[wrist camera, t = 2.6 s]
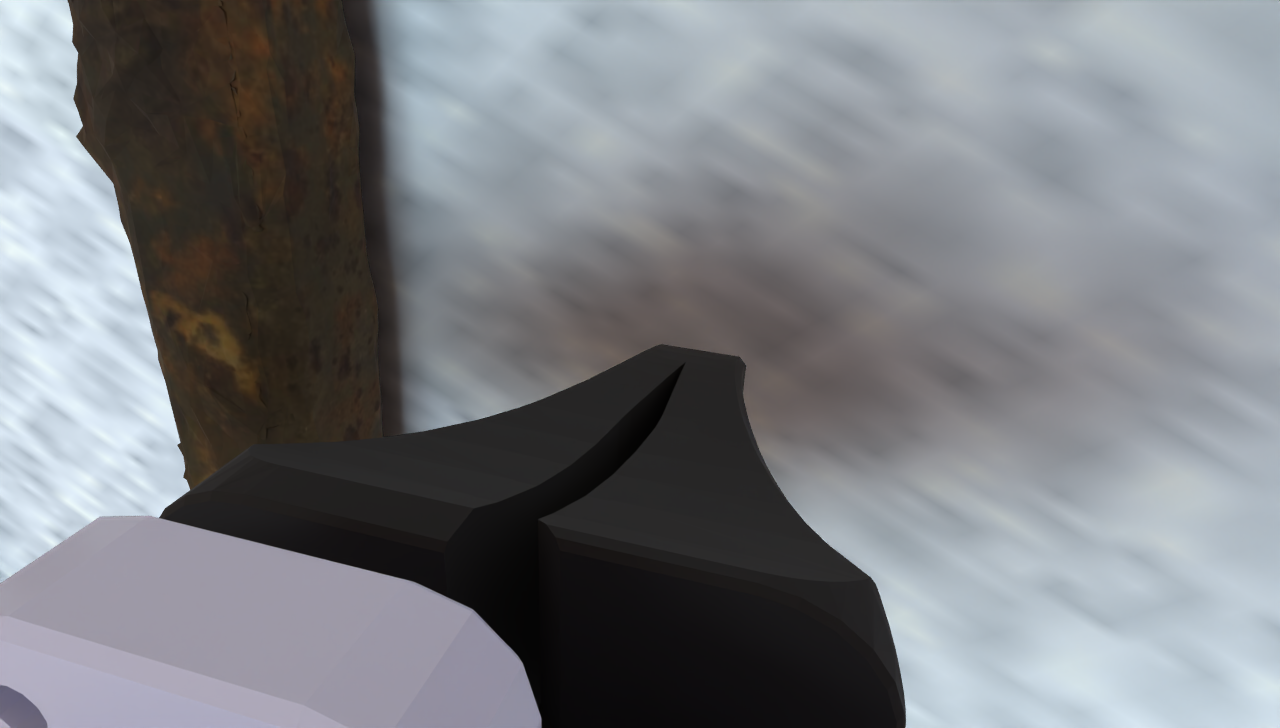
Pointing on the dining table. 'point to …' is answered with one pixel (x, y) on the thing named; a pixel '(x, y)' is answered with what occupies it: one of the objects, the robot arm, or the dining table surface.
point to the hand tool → (239, 212)
